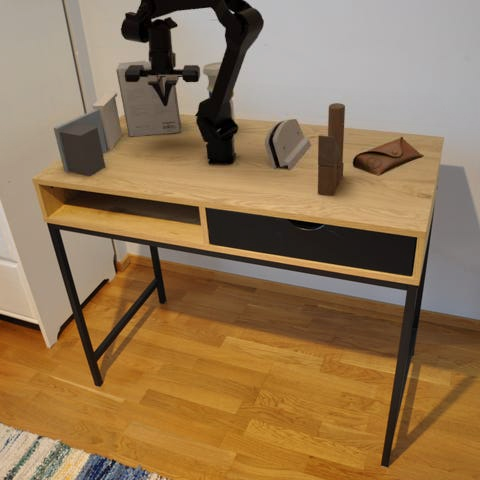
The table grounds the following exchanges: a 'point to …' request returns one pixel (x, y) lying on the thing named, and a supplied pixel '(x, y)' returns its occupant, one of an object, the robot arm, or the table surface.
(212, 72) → the water bottle
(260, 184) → the table surface
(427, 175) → the table surface
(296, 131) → the hinge
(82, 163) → the doorstop block
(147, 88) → the hard drive box
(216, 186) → the table surface
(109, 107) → the wall frame
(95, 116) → the door
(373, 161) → the sunglasses case
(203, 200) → the table surface
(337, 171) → the wooden block
